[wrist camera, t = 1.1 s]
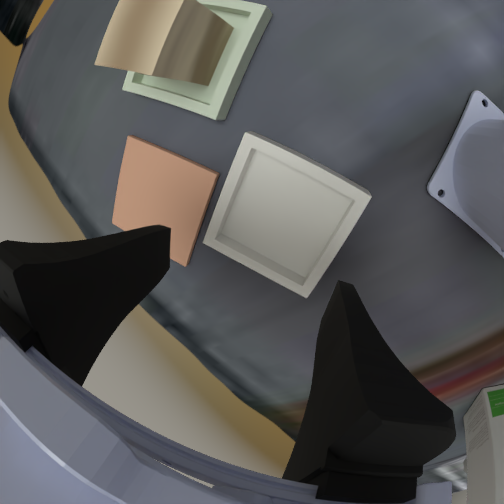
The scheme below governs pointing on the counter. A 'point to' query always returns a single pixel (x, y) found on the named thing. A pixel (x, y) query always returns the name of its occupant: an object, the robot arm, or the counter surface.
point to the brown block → (165, 39)
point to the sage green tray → (228, 68)
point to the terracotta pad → (163, 194)
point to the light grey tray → (283, 213)
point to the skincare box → (485, 447)
